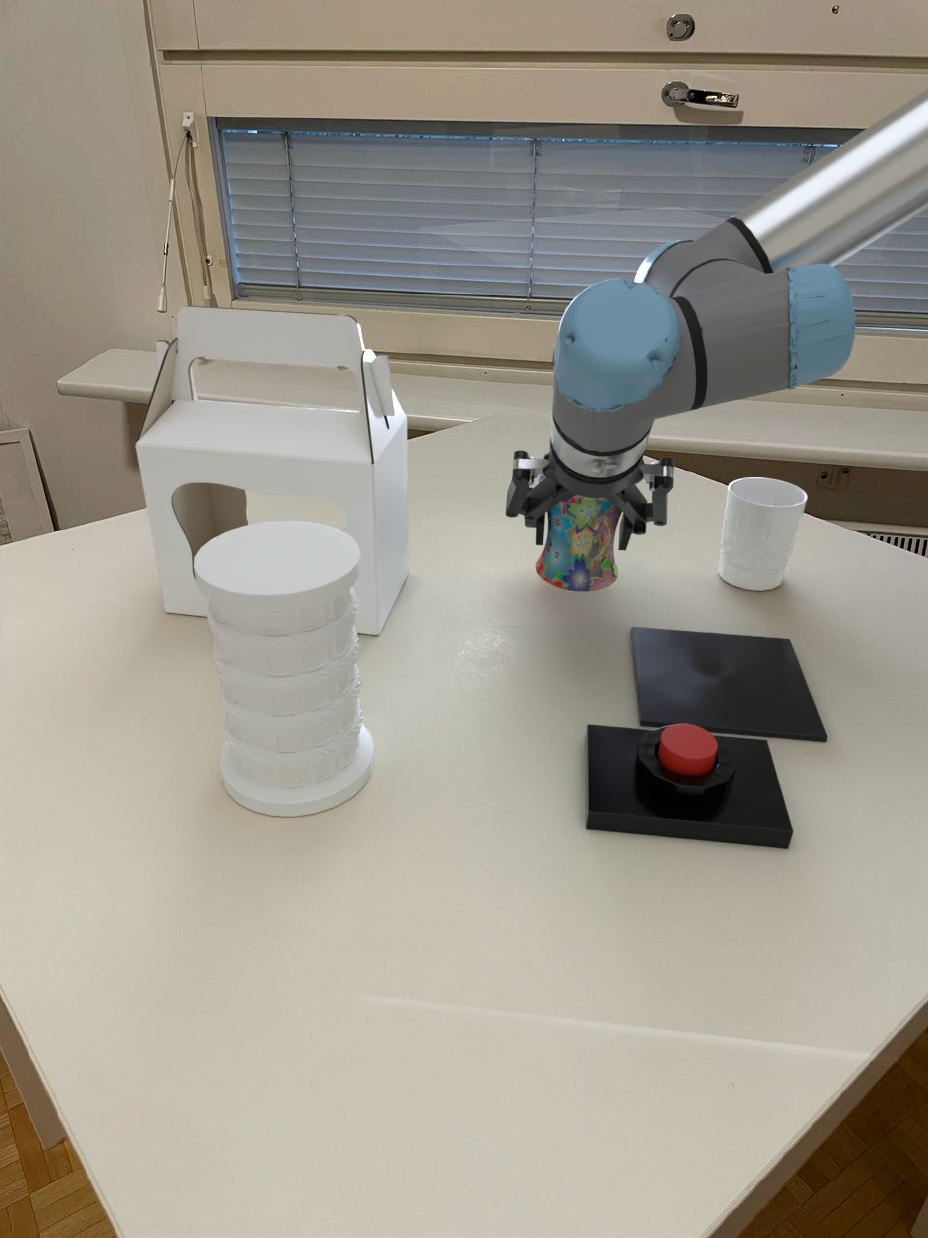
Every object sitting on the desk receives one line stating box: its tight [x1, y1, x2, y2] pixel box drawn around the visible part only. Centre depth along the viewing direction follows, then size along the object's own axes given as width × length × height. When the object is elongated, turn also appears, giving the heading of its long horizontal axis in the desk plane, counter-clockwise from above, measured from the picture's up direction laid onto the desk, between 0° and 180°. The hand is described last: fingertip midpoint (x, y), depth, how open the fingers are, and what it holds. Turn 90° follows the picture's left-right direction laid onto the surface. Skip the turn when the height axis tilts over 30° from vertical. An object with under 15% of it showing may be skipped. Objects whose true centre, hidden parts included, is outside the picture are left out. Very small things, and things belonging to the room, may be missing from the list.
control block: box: [584, 723, 794, 850], centre depth 64 cm, size 14×10×4 cm
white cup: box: [717, 476, 809, 592], centre depth 93 cm, size 8×8×10 cm
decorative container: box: [194, 520, 375, 818], centre depth 62 cm, size 12×12×18 cm
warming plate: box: [630, 626, 829, 743], centre depth 78 cm, size 15×15×1 cm
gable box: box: [134, 305, 410, 636], centre depth 83 cm, size 22×13×28 cm, turn 81°
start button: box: [658, 724, 718, 776], centre depth 63 cm, size 4×4×2 cm
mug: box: [535, 473, 623, 592], centre depth 86 cm, size 12×9×11 cm
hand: (581, 535), depth 90 cm, fingers closed on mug, 8 cm apart
